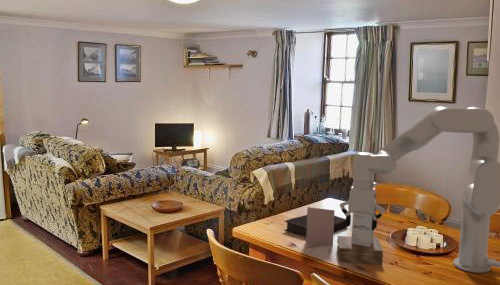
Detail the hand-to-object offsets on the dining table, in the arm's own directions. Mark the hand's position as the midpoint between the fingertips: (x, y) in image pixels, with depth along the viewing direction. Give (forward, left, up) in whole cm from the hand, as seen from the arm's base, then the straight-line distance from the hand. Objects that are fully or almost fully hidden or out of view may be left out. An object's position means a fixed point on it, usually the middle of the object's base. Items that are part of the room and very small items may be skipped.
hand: (360, 227), depth 185 cm
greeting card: (+18, -4, -12) cm, 22 cm away
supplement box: (-1, 0, -6) cm, 7 cm away
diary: (+25, -24, -12) cm, 37 cm away
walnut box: (0, 0, -12) cm, 12 cm away
